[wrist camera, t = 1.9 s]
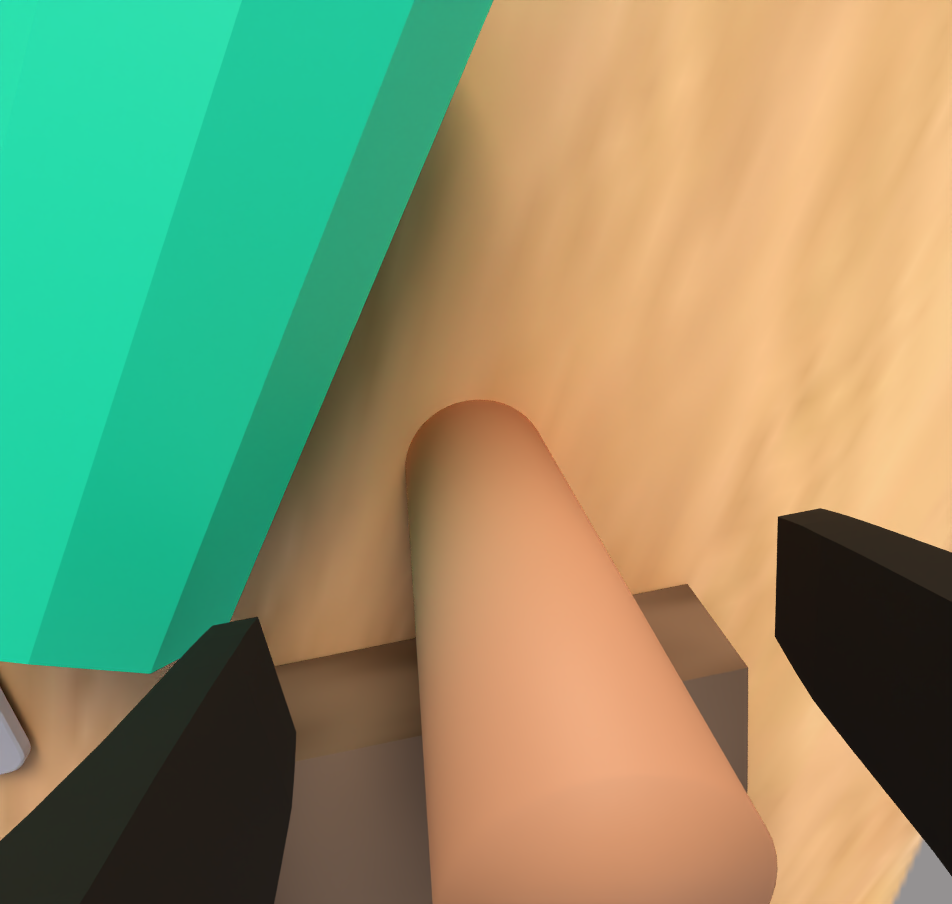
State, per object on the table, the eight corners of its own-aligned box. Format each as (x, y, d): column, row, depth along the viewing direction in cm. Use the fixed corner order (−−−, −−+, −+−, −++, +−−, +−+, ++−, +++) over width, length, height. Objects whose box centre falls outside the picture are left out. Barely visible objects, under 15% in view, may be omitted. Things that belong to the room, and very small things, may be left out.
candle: (597, 16, 9) (278, 693, 13) (321, -64, 12) (123, 509, 15) (194, -505, 4) (-147, 854, 8) (-117, -431, 7) (-263, 539, 10)
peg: (419, 541, 15) (464, 1047, 6) (392, 413, 14) (402, 822, 5) (553, 515, 15) (774, 975, 7) (537, 388, 14) (781, 740, 5)
